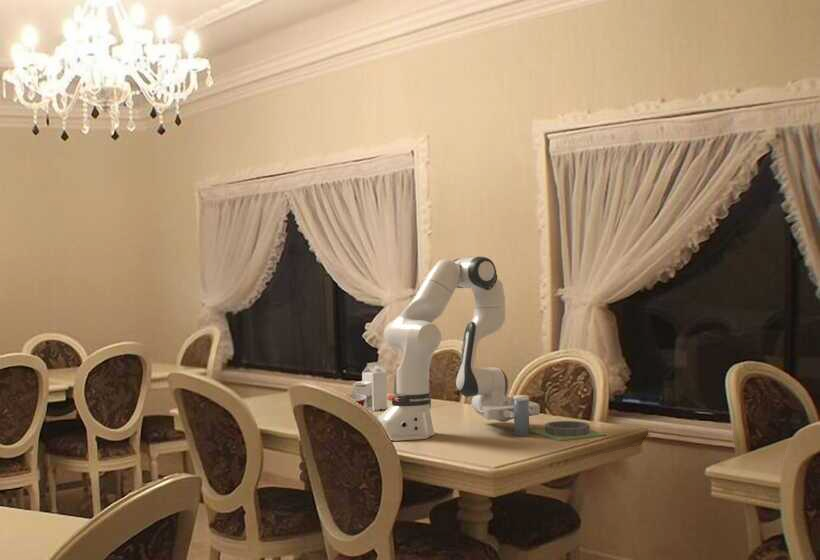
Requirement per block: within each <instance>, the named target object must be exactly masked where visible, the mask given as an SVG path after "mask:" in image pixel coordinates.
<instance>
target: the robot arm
mask: <svg viewBox="0 0 820 560" xmlns="http://www.w3.org/2000/svg"><path fill="white" fill-rule="evenodd" d="M497 274H498V273H497V268H496V266H495V264H494V262H493V261H492V259H490V258H488V257H485V256H467V257H462V258H457V259H456V258H455V259H454V260H450V259H447V258H443V259H440V260H438V261H437V262H436V263H435V264H434V265H433V267H432V268H431V269H430V271H428V273H427V275H426V277H424V278H425V279H424V280H423V281H422V284H421V285H420V287H419V288H418V291H417V292H416V293H415V295H414V297H413V298H412V300H411V301H410V302H409V304H408V305H407V306H406V307H405V308H404V309H403V310H402V312H401V313H400V314H399V315H398V316H397V317H396V318H394V319H393V320H391V321H390V322H388V323H387V325H386V326H385V327H384V330H383V339H384V342H385V343H386V345H387V346H389V347H390V348H392V349H394V350H396V351H401V352H403V355H402V361H401V363H400V365H399V366H398V367H397V369H396V372H395V374H396V375H395V376H396V393H395V394H388V393H387V397H386V398H387V401H390V402H391V405H390V406H389V407H387V409H384V410H385V411H383V412H382V413H381V414H380V415H379V416H377V418H378V420H379V421H380V422H381V423H382V425H383V426H384V427H385V429H386V430H387V432H388V434H389V435H390V437H391V439H392V440H393V441H392V442H395V441H396V442H397V441H398V442H400V441H411V440H427V439H429V437H431V436H434V435H435V434H436V433H435V430H434V426H433V420H432V414H431V407H432V400H431V399H432V397H431V392H430V368H431V367H430V366H431V361H432V359H433V355H434V353H435V351H436V350H437V349H438V347H440V344H441V340H442V334H441V330H440V328H439V327H438V326H437V325H436V324H434V323H433V322H434V321H435V320H436V319H439V318H440V317H441V316H442V314H443V313H444V311H445V310H446V308H447V306H448V304H449V302H450V300H451V298H452V297H453V294H454V292H455V290H456V289H457V288H458V289H471V291H472V292H473V295H474V312H473V316H472V319H471V321H470V322H469V323H467V325H466V327H465V330H464V334H463V340H462V347H461V353H460V360H459V367H458V370H457V374H456V377H455V387H456V390H457V391H458V392H459V393H460V394H461V395H462V396H464V397H465V398H470V397H472V399H471V406H472V408H473V410H474V411H475V413H477V414H478V415H480V416H482V417H483V418H484V419H486V420H491V421H493V420H494V421H496V422H497V421H498V422H500V423H506V422H509V421H510V420H514V418H515V417H516V412H514V400H513V396H512V397H510V396H507V393H508V389H509V381H508V377H507V375H506V373H505V371H504V370H503V369H502V368H501V367H498V366H497V367H495V366H494V367H492V366H491V367H475V363H476V356H477V355H476V354H477V347H478V344H479V343H480V341H482V340H483V339H484V338H486V337H488V336H489V335H492V334H494V333H496V332H497V331H499V330H500V329H501V328H502V327H503V325H504V324H505V321H506V297H505V290H504V285H503V283H502V281H501V280H500V279H499V278H498V275H497ZM538 415H540V404H539V403H536V402H533V401H530V400H529V417H531V416H532V417H533V416H538Z"/></svg>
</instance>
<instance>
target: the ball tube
mask: <svg viewBox="0 0 820 560" xmlns="http://www.w3.org/2000/svg"><path fill="white" fill-rule="evenodd" d="M512 397H513V400H514V412H516V417H515V418H514V419H513V429H514V431H513V433H514V434H513V435H514V436H515V437H528V436H530V416H529V401H530V397H529V395H525V394H517V395H516V394H514V395H513V396H512Z"/></svg>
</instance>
